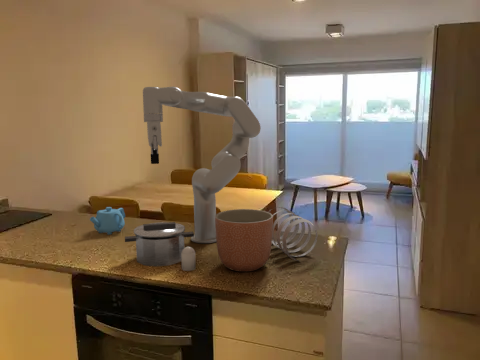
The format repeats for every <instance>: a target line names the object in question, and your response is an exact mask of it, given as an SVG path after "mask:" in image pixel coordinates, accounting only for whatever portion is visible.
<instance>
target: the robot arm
mask: <svg viewBox="0 0 480 360" xmlns="http://www.w3.org/2000/svg"><path fill="white" fill-rule="evenodd" d="M142 106H143V107H142V109H143V110H142V111H143V123H146V129H147V130H146V131H147V140H148V145H149V147H150V164H151V165H157V164H158V165H159V164H160V154H159V147H160V148H161V147H162V146H163V141H162V125H161V124H162V122H164V114H163V113H164V112H163V106H165V107H170V108H171V107H172V108H176V109H183V110H189V111H192V112H198V113H203V114H204V113H205V114H211V115H216V116H223V117H229V118H230V117H231V118H233V119H234V121H233V123H232V137H231V139H230V142H228V143H227V144H226V145H225V146H224V147H223V148H222V149H221V150H219V151H218V152H217V154H216V155H214V157H213V158H212V160H211V162H210V163H211V165H210V166H211V169H210V168H209V169H208V168H206V167H202V168H199V169H198V168H197V170H195V172H193V175H192V177H191V186H192V187H191V188H192V192H193V193H192V195H193V213H194V215H193V219H194V237H190V241H192V242H193V243H196V244H211V243H217V242H216V229H215V216H216V214H217V210H216V209H217V204H216V203H217V199H216V194H217V193H218V192H220V191H221V190H223V188H225V187H226V185H228V184H229V183H230V182H231V181H232V180H233V179H234V178H235V177H236V176H237V175H238V173H239V172H240V170H241V166H242V164H241V163H242V162H241V159H242V158H243V157H244V156H245V154H247V151H248V149H249V144H250V139H253V138H255V137H257V136H258V135H259V134H260V132H261V127H262V126H261V123H260V121H259V119H258V118H257V117H256V115H255V114H254V112H253V111H252V110H251V108H250V107H249V105H248V104H247V103H246V101H244V100H243V98H241V97H240V96H229V95H228V96H226V95H220V94H216V93H211V92H206V91H186V90H181V88H179V87H176V86H166V87H158V86H145V87H144V88H143V89H142Z"/></svg>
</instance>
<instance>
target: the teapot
mask: <svg viewBox="0 0 480 360" xmlns="http://www.w3.org/2000/svg"><path fill="white" fill-rule="evenodd" d="M125 218H126V213H125V210H124V208H123V207H119V208H117V209H116V208H112V206H106V207H105V209H100V210H97V211H96V216H95V217H94V216H90V218H89V221H90V222H91V223H93V228H94V229H95V231H97V232H98V234H103V233H106V235H107V236H109V235H110V236H111V235H113V233H114V232H118V233H119V232H122V229H123V228H124V227H125V224H126V223H125Z"/></svg>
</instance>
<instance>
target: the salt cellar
mask: <svg viewBox="0 0 480 360" xmlns="http://www.w3.org/2000/svg"><path fill="white" fill-rule="evenodd" d="M181 270H182V271H184V272H185V271H186V272H189V271H190V272H191V271H194V270H196V251H195V249H194V247H192V246H186V247H185V246H184V249H183V250H182V252H181Z"/></svg>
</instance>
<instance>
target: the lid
mask: <svg viewBox="0 0 480 360" xmlns="http://www.w3.org/2000/svg"><path fill="white" fill-rule="evenodd" d="M183 232H186V227H185V225H183V224H181V223H176V222H175V221H173V222H171V221H170V222H166V221H165V222H150V223H144V224H142V225H138V226H136V227H135V228H134V229H133V234H134V236H136V235H137V236H140V237H146V238H163V237H170V236H175V235H179V234H181V233H183Z"/></svg>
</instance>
